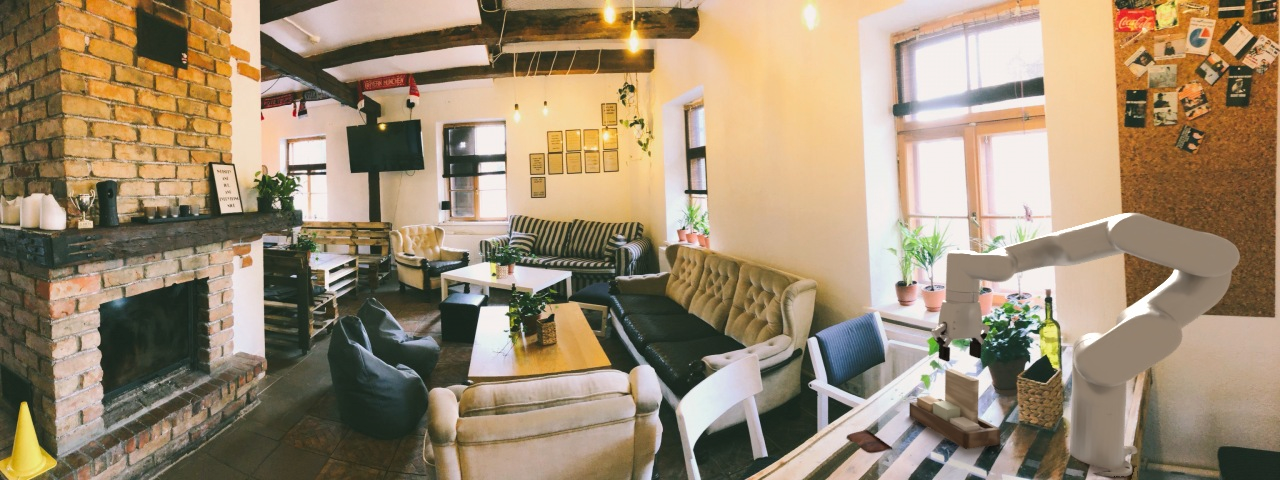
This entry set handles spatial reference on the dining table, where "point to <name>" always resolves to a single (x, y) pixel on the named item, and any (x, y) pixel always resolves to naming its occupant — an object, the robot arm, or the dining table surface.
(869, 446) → the wooden tablet
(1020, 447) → the dining table surface
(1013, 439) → the dining table surface
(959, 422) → the offcut
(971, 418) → the light wooden board
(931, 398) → the offcut
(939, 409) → the block
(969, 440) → the brown wooden tray
